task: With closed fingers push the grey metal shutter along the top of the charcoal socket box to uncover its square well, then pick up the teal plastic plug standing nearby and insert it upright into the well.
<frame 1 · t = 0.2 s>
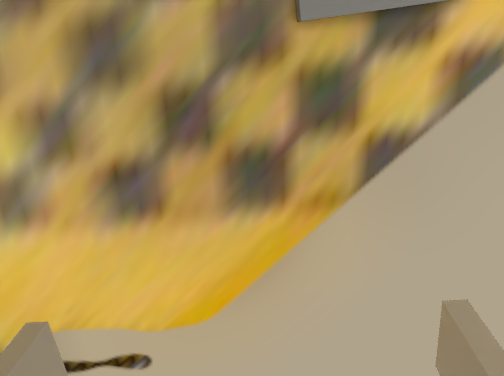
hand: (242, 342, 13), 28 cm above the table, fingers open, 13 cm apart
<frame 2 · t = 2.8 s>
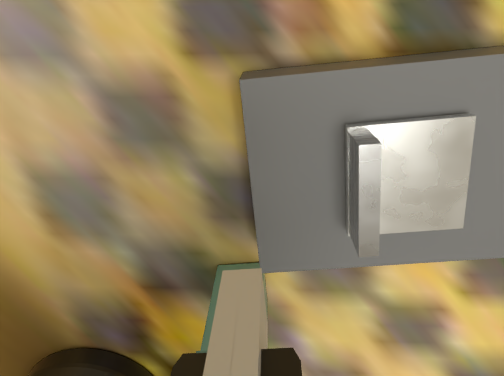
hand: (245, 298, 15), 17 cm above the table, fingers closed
shutter: (413, 186, 24), point 7 cm above the table, slide at 0.0 cm
socket: (383, 153, 30), on the table
plug: (243, 282, 35), on the table
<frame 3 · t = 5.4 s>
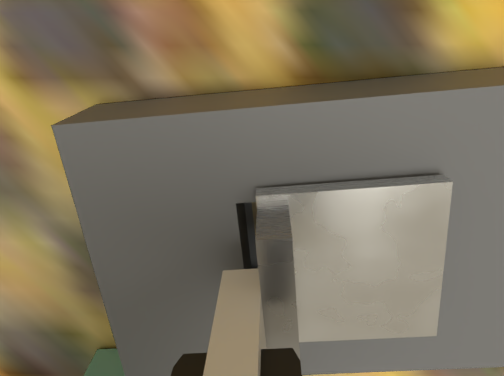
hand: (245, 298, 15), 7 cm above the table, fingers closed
shutter: (357, 287, 16), point 7 cm above the table, slide at 1.7 cm, touching gripper
socket: (301, 214, 22), on the table
plug: (132, 370, 27), on the table
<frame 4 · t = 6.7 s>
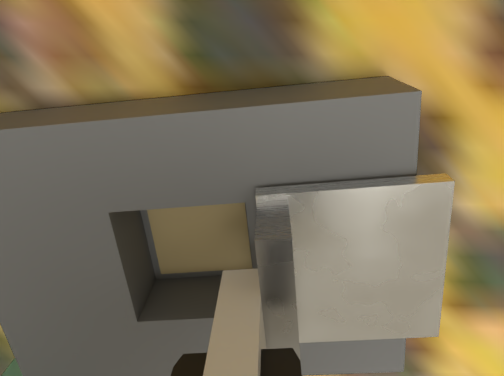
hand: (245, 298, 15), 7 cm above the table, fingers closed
shutter: (358, 287, 15), point 7 cm above the table, slide at 7.3 cm, touching gripper
socket: (202, 221, 22), on the table
plug: (55, 374, 27), on the table
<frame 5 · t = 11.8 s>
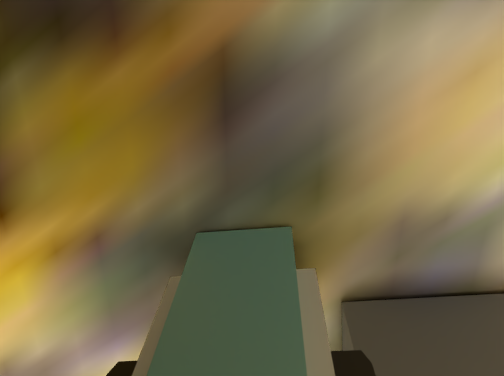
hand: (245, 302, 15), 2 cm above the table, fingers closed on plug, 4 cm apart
plug: (248, 270, 17), on the table, touching gripper
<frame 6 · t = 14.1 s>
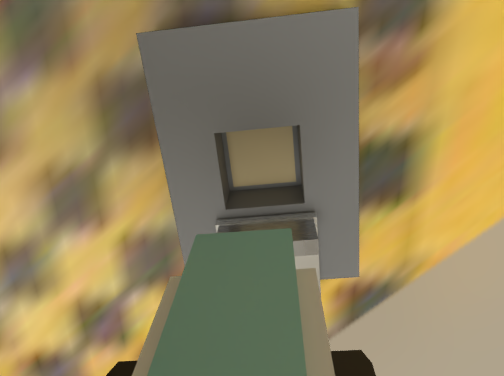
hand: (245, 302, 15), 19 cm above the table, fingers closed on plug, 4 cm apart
shutter: (270, 272, 29), point 7 cm above the table, slide at 7.4 cm
socket: (261, 150, 33), on the table
plug: (248, 271, 17), point 17 cm above the table, touching gripper
when the fingers open (6 cm above the table, at t = 16.4 s): plug drops 2 cm, resting on socket.
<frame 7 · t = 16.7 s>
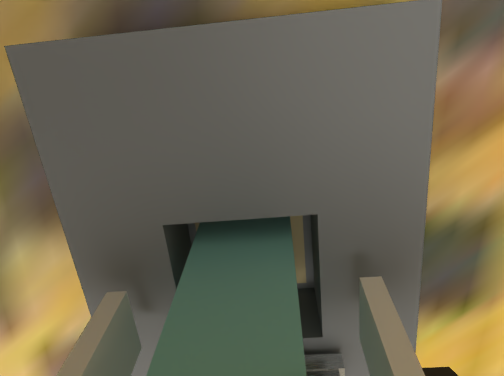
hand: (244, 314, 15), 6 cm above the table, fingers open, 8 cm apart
socket: (251, 231, 20), on the table
plug: (250, 242, 19), point 1 cm above the table, touching socket
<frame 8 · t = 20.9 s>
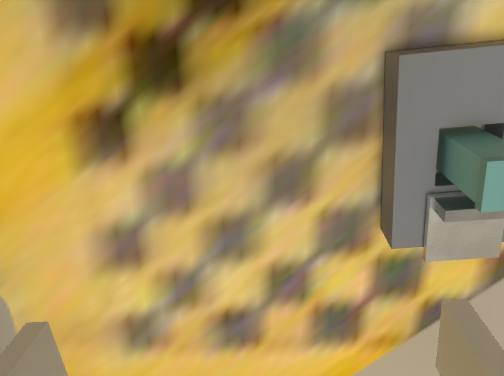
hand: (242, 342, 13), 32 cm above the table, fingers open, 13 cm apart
shutter: (470, 233, 39), point 7 cm above the table, slide at 7.4 cm
socket: (449, 142, 42), on the table
plug: (453, 145, 41), point 1 cm above the table, touching socket
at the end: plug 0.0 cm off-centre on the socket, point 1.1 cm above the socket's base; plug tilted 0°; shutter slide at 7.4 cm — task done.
